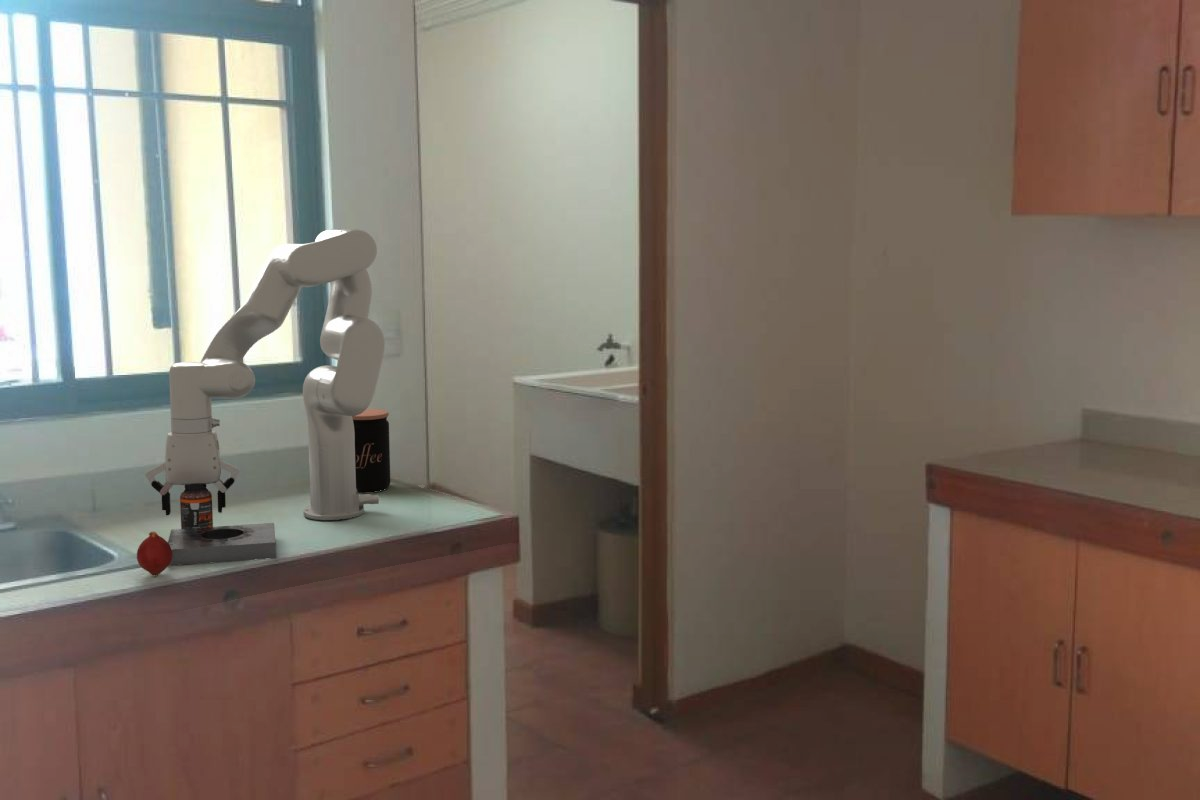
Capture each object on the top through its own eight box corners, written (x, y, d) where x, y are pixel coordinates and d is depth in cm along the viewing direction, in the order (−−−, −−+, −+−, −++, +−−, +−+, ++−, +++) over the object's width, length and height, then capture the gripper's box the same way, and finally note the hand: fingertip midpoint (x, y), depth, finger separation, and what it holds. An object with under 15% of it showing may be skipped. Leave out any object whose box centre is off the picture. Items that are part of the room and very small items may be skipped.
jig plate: (274, 537, 232) (274, 522, 231) (276, 558, 218) (275, 542, 217) (172, 544, 227) (171, 529, 226) (166, 566, 212) (166, 549, 212)
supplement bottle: (203, 542, 229) (200, 484, 227) (175, 540, 230) (172, 483, 228) (219, 534, 234) (216, 478, 233) (192, 532, 236) (189, 477, 234)
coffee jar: (336, 492, 271) (334, 415, 269) (354, 482, 282) (351, 408, 279) (381, 494, 269) (379, 416, 267) (396, 484, 280) (395, 409, 277)
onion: (143, 570, 209) (141, 527, 208) (177, 570, 210) (174, 526, 209) (133, 580, 204) (131, 535, 202) (167, 580, 204) (165, 535, 203)
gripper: (238, 421, 235) (240, 506, 237) (145, 424, 230) (148, 510, 232) (238, 427, 228) (240, 514, 230) (142, 430, 223) (145, 519, 225)
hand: (194, 512), depth 231 cm, fingers open, 9 cm apart
